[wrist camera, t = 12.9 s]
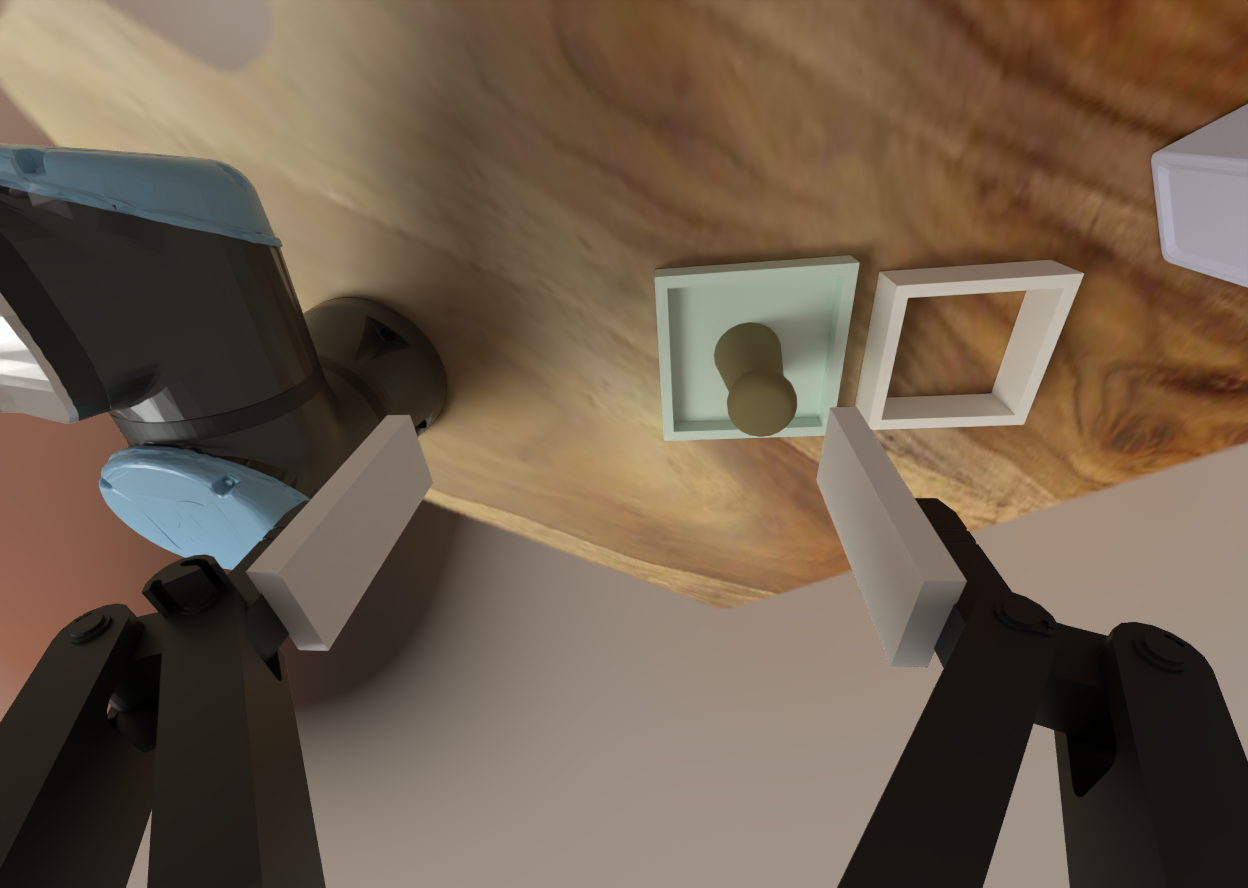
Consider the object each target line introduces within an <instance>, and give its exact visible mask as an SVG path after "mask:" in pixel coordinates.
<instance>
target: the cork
mask: <svg viewBox="0 0 1248 888" xmlns="http://www.w3.org/2000/svg"><path fill="white" fill-rule="evenodd" d="M714 360H715V365H716V367H717V369H718V371H719V373H720V375H721V377H722V379H723V381H724V383H725V385H726V387H727V389H728V391H729V394H728V398H727V409H728V415H729V417H730V419H731V421H732V423H733V424H734V425H735V426H736V427H737V428H738V429H739V430H740V431H741V432H744V433H746V434H748V435H751V436H758V437H764V436H771V435H773V434H776V433H778V432H780V431H781V430H783V429H784V428H785V427H787V426H788V425H789V423H790V422H791V421H792V419H793V418H794V416H795V413H796V410H797V395H796V392H795V390H794V388H793V385H792V383H791V382H790V381H789V380H788V379H787V378H786V377H784V373H783V362H782V352H781V344H780V341H779V339H778V337H777V335H776V334H775V333H774V332H773V331H772V330H771V329H770V328H769V327H767V326H764V325H762V324H759V323H752V322H749V323H743V324H738V325H736V326H734V327H732V328H730V329H729V330H728V331H726V332H725V333H724V334H723V335H722V336H721V337H720V339H719V341H718V342H717V344H716V347H715V352H714Z"/></svg>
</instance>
